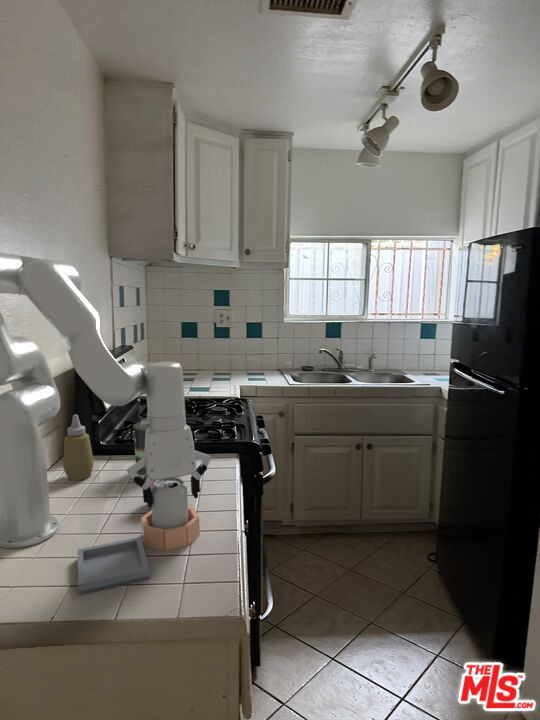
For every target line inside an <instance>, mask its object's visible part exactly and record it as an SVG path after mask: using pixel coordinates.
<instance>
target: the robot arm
mask: <svg viewBox="0 0 540 720" xmlns="http://www.w3.org/2000/svg"><path fill="white" fill-rule="evenodd" d="M81 288H82V279H81V276H80V273H79V272H78V271H77V269H76V268H75V267H74V266H73V265H71V264H69V263H68V262H64V261H61V260H52V259H47V258H46V259H45V258H44V259H43V258H37V257H32V256H25V255H19V254H13V253H5V252H0V294H2V295H3V294H9V295H11V294H13V295H22V296H26V297H27V298H28V299H29V301H30V302H31V303H32V304H33V305H34V306H35V308H36V309H37V310H38V311H39V312H40V313H41V314H42V316H43V317H44V318H45V320H47V321H48V323H49V324H50V325H51V327H52V328H54V330H55V331H56V332H57V333H58V334H59V335H60V337H61V338H62V340H63V342H64V345H65V349H66V351H67V354H68V356H69V359H70V360H71V361H70V362H71V364H72V366H73V368H74V370H75V372H76V373H77V374H78V375H79V377H80V378H81V380H82V381H83V382H84V384H86V385H87V387H88V388H89V389H90V390H91V391H92V392H93V393H94V394H95V396H97V398H98V399H100V400H101V401H103V402H104V403H106V404H107V405H110V406H113V407H115V406H116V407H120V406H121V407H122V406H126V405H127V404H129V403H130V402H132V401H133V400H135V399H136V398H138V397H141V396H143V395H145V396H146V407H147V414H146V415H147V417H146V418H144V419H141V420H140V422H141V425H142V426H147V427H149V429H147V430H146V434H145V445H144V458H143V459H141V460H140V461H138V462H137V463H136V462H135V463H134V464H132V465H130V466H129V467H128V468H127V469H126V471H127V474H128V476H129V477H130V479H131V480H132V481H133V482H134V484H136V485H137V486H138V487H140V488H141V489H142V499H143V503H144V504H146V505H147V507H148V509H149V508H152V497H151V488H150V484H151V483H152V481H157V480H164V479H169V478H175V477H180V476H181V477H186V476H189V475H190V487H191V488H190V490H191V491H190V492H191V495H192V496H193V498H194V499H198V498H199V493H200V492H201V486H200V485H201V484H200V483H201V481H200V480H201V478H202V476H203V475H204V474H205V472H206V471H207V469H208V467H209V464H210V462H211V459H212V457H211V456H210V455H209V454H207V453H204V452H201V451H198V450H195V443H194V439H193V433H192V430H191V427H190V425H188V424H187V419H186V406H185V405H186V403H185V401H186V400H185V387H184V386H185V385H184V372H183V367H182V365H181V364H180V363H179V362H176V361H158V362H147V361H146V362H145V361H139V360H127V361H124V362H122V363H119V361H117V360H116V358H115V357H114V355H112V354H111V352H110V351H109V349H108V348H107V347H106V345H105V343H104V341H103V339H102V336H101V330H100V326H101V317H100V313H99V312H98V310H97V309H96V308H95V307H94V306H93V305H92V304H91V303H90V301H88V299H87V298H86V297H85V296H84V294H83V293H82V292H81ZM9 384H10V386H11V387H12V389H10V390H7V391H4V392H2V393H0V548H6V549H17V548H24V547H29V546H33V545H36V544H39V543H42V542H44V541H46V540H48V539H49V538H51V537H53V535H55V534H56V533H57V532H58V530H59V528H60V522H59V520H58V518H56V517H55V516H53V515H51V509H50V507H51V506H50V496H49V495H50V493H49V484H48V481H49V480H48V471H47V470H48V468H47V460H46V459H47V457H46V450H45V445H44V442H43V439H42V437H41V435H40V432H39V427H41V426H42V425H44V424H47V423H48V422H49V421H52V419H54V417H55V416H56V415H58V413H59V411H60V408H61V397H60V393H59V389H58V387H57V385H56V382H55V380H54V377H53V374H52V372H51V369H50V367H49V364H48V362H47V359H46V356H45V355H44V352H43V351H42V349H41V348H40V347H39V346H38V344H37V343H36V342H34V341H33V340H32V339H29V338H27V337H24V336H17V335H16V336H11V334H10V332H9V329H8V328H7V325H6V322H5V319H4V317H3V315H2V313H1V312H0V387H2V386H5V385H9ZM197 459H198V460H201V463H200V464H199V465H198V466H197ZM144 466H145V471H146V474H145V476H144V477H143V478H142V477H139V476H138V475H137V474H136V472H137V471H138V470H140V469H141V468H143V467H144Z"/></svg>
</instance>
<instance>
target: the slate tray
mask: <svg viewBox="0 0 540 720" xmlns="http://www.w3.org/2000/svg"><path fill="white" fill-rule="evenodd" d="M144 547H145V546H144V543H143V539H142V536H140V537H133V538H129V539H124V540H123V539H122V540H118V541H113V542H109V543H104V544H103V543H102V544H98V545H93V546H88V547H84V548H83V547H82V548H77V550H76V551H77V583H78V595H79V596H80V595H86V594H89V593H93V592H98V591H102V590H107V589H111V588H115V587H119V586H123V585H124V586H125V585H128V584H132V583H136V582H140V581H141V582H142V581H145V580H149V579H151V574H150V565H149V562H148V558H147V555H146V551H145V548H144Z"/></svg>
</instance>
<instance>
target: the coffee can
mask: <svg viewBox="0 0 540 720" xmlns="http://www.w3.org/2000/svg"><path fill="white" fill-rule="evenodd" d="M132 428H133V436H134V437H133V438H134V440H133V441H134V456H135V463H137V462H138V461H140V460H141V459H143V458H144V445H145V434H146V430H147V429H149V427H147V426H142V425H141V421H139V422H136V423H135V424H133V427H132ZM145 473H146V471H145V466H144V467H143V468H141V469H140V470H138V471H137V472H136V474H137V475H138V476H139V477H141V478H142V479H143V477H144V476H145V475H144V474H145Z"/></svg>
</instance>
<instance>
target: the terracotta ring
mask: <svg viewBox="0 0 540 720" xmlns="http://www.w3.org/2000/svg"><path fill="white" fill-rule="evenodd" d="M140 521H141V527H140V528H141V539H142V542H143V545H144V547H147V548H151V549H155V550H159V551H165V552H166V551H170V550H174V549H179V548H180V549H181V548H184V547H188V546H189V545H191V543H193V542H194V541H195V540H196V539H198V537H199V536H200V533H201V532H200V516H199V514H198V513H197V510H196V509H195V508H194V507H191V506H188V523H187V524H186V525H185V526H181V527H176V528H170V529H160V528H155V527H153V525H152V509H151V510H150V511H148V512H147V513H146V514H144V515H142V516H141V518H140Z"/></svg>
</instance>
